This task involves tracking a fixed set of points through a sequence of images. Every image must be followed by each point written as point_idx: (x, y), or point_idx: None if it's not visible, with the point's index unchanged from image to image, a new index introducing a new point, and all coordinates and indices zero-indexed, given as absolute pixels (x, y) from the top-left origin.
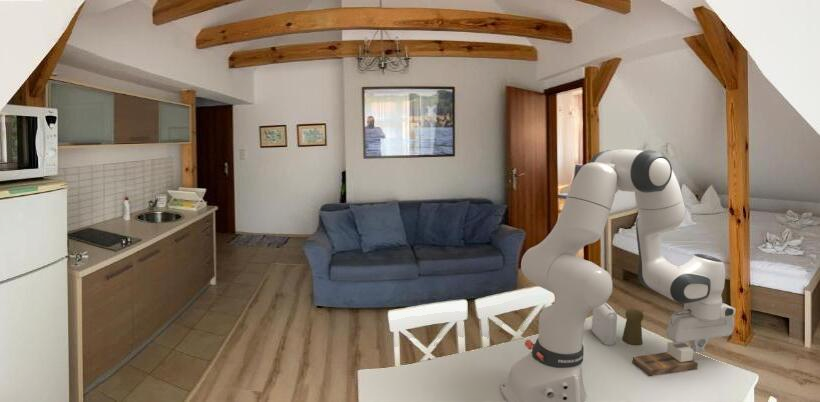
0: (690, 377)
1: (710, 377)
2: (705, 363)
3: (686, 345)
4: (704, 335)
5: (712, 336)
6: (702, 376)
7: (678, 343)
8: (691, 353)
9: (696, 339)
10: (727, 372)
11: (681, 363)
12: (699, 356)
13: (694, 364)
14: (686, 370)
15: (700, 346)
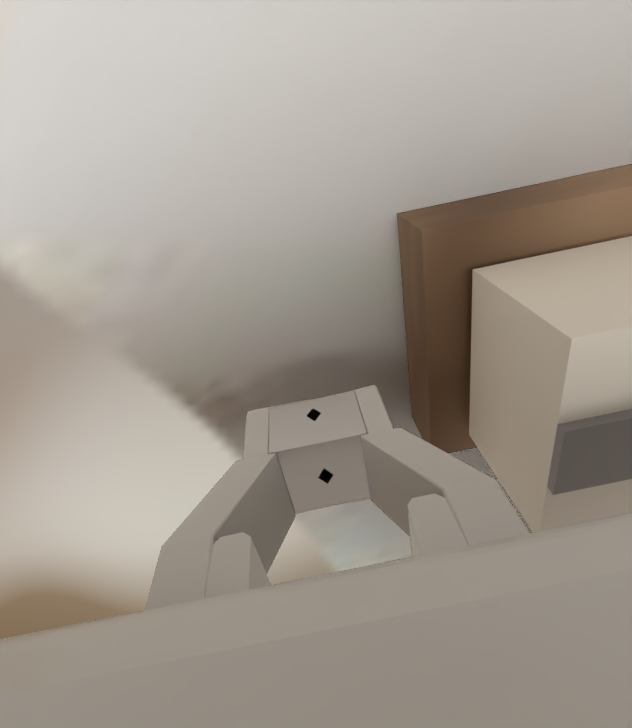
0: (609, 38)
1: (371, 20)
2: (236, 317)
3: (588, 439)
4: (366, 695)
5: (66, 669)
6: (452, 53)
7: (614, 488)
8: (558, 301)
9: (583, 537)
10: (82, 133)
11: (623, 226)
12: (221, 420)
13: (464, 218)
14: (536, 186)
15: (311, 452)
